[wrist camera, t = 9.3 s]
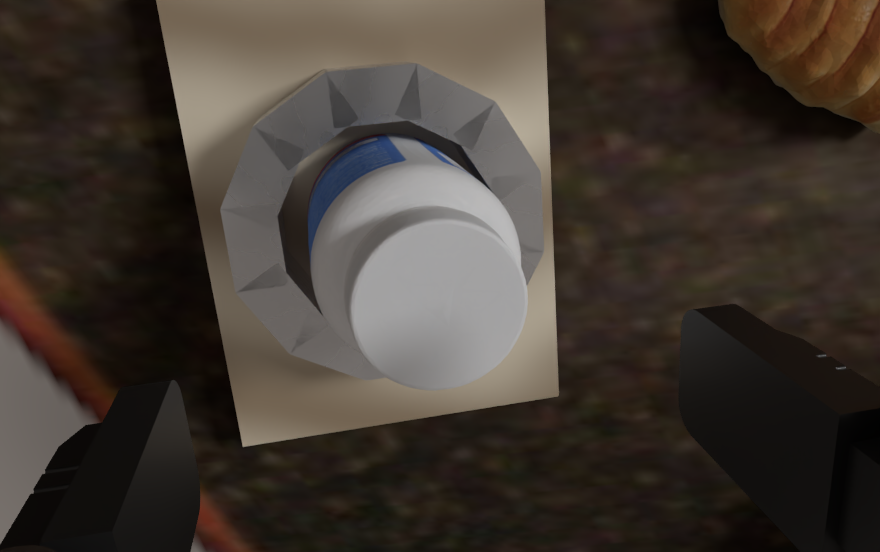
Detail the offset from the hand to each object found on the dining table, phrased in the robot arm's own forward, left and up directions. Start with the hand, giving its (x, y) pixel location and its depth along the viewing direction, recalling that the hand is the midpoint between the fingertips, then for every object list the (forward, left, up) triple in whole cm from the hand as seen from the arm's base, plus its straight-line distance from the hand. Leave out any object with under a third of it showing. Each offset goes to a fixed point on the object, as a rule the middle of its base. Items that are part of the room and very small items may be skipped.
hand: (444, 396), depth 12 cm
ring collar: (0, 0, -14) cm, 14 cm away
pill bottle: (0, +1, -14) cm, 14 cm away
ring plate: (0, 0, -16) cm, 16 cm away
